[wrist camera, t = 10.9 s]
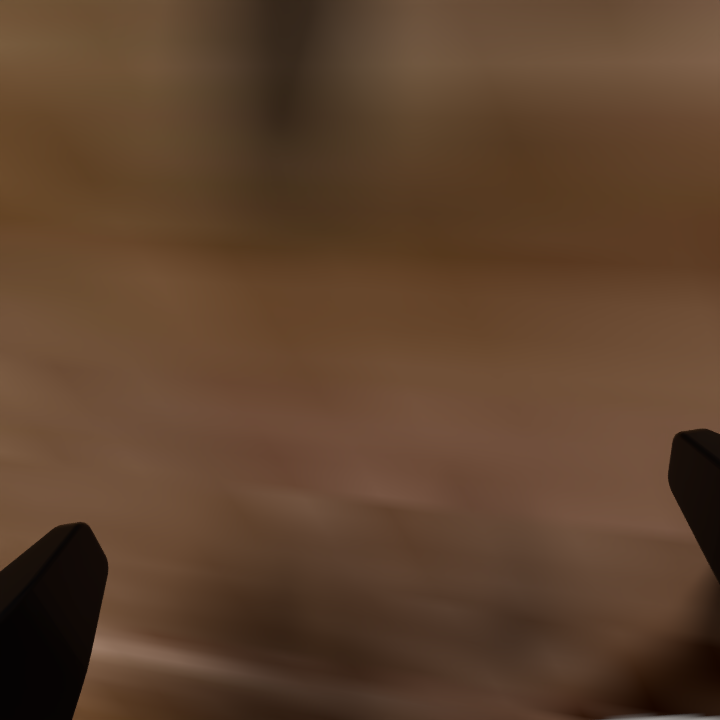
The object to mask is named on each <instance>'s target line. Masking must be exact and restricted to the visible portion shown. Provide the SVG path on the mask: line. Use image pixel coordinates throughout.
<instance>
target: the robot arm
mask: <svg viewBox="0 0 720 720" xmlns="http://www.w3.org/2000/svg"><path fill="white" fill-rule="evenodd" d="M668 481H669V486H670V489H671V491H672V493H673V495H674V497H675V499H676V501H677V503H678V505H679V507H680V509H681V511H682V513H683V515H684V517H685V518H686V520H687V522H688V524H689V526H690V528H691V530H692V532H693V534H694V536H695V538H696V540H697V542H698V544H699V546H700V548H701V550H702V552H703V554H704V556H705V558H706V559H707V561H708V563H709V565H710V567H711V569H712V571H713V573H714V575H715V576H716V578H717V580H718V582H719V584H720V434H718V433H716V432H713V431H711V430H708V429H695V430H689V431H682V432H679V433H677V434H676V435H675V436H674V438H673V442H672V449H671V456H670V463H669V470H668ZM107 576H108V561H107V558H106V555H105V554H104V552H103V550H102V548H101V546H100V544H99V543H98V541H97V539H96V537H95V535H94V533H93V532H92V530H91V528H90V527H89V525H87V524H86V523H83V522H77V523H71V524H64V525H60V526H57V527H55V528H54V529H52V530H51V531H50V532H49V533H47V534H46V535H45V536H44V537H42V538H41V539H40V540H39V541H38V542H36V543H35V544H34V545H33V546H31V547H30V548H29V549H28V550H26V551H25V552H24V553H23V554H21V555H20V556H19V557H18V558H17V559H15V560H14V561H13V562H12V563H10V564H9V565H8V566H7V567H5V568H4V569H3V570H2V571H0V720H72V718H73V715H74V712H75V709H76V705H77V702H78V699H79V696H80V693H81V690H82V686H83V683H84V679H85V676H86V673H87V669H88V665H89V661H90V656H91V652H92V647H93V642H94V638H95V633H96V628H97V623H98V619H99V614H100V609H101V604H102V600H103V595H104V590H105V585H106V581H107Z"/></svg>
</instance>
